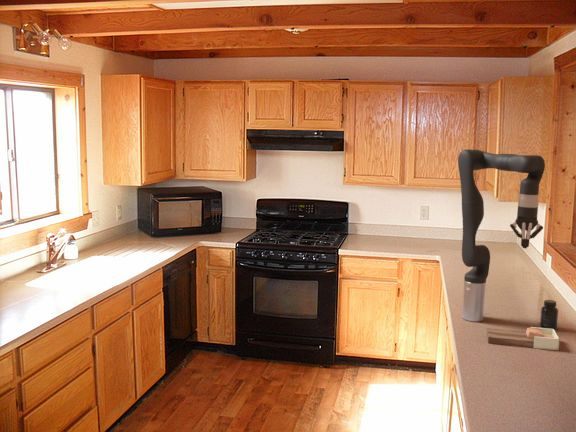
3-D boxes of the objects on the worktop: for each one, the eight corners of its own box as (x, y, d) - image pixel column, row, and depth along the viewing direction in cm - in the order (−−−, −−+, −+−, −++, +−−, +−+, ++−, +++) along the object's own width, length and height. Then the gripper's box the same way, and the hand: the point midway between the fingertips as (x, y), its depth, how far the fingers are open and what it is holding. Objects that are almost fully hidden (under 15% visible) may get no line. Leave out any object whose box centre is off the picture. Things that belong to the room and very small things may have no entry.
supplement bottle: (543, 324, 271) (546, 297, 269) (559, 328, 266) (561, 301, 264) (536, 328, 266) (539, 301, 264) (552, 332, 261) (555, 304, 259)
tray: (529, 337, 254) (530, 326, 253) (552, 339, 252) (553, 329, 251) (533, 348, 242) (534, 336, 242) (558, 350, 240) (559, 339, 240)
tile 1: (525, 333, 251) (527, 327, 250) (538, 336, 250) (540, 330, 250) (528, 337, 246) (529, 331, 245) (541, 340, 245) (542, 334, 245)
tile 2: (538, 339, 250) (539, 333, 250) (552, 340, 249) (552, 334, 249) (541, 344, 245) (541, 338, 245) (554, 345, 244) (555, 339, 244)
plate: (486, 333, 257) (486, 328, 257) (529, 338, 253) (530, 332, 253) (488, 343, 247) (488, 337, 246) (533, 347, 243) (533, 341, 242)
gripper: (544, 205, 249) (540, 247, 252) (509, 203, 253) (506, 245, 255) (547, 207, 242) (543, 251, 245) (511, 205, 245) (508, 248, 248)
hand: (524, 247), depth 250 cm, fingers closed
